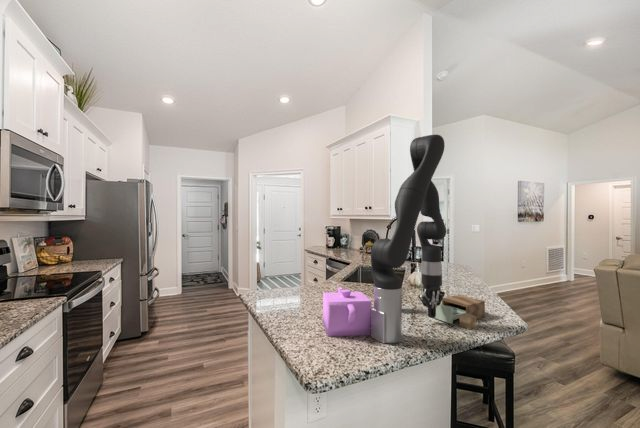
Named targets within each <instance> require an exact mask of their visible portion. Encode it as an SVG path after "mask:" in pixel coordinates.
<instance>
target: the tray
mask: <svg viewBox="0 0 640 428" xmlns="http://www.w3.org/2000/svg"><path fill="white" fill-rule="evenodd" d="M448 306H449V305H448ZM448 306H445V305H442V303H440V305H439V306H437V308H436V317H435V318H434V319H436V320H440V321H442V322H445V323H447V324H452V325H453V323H454V321H455V320H457V319H458V320H460V315H462V314H466V310H462V309H459V308H456V307H454V308H456V309H457V314H456V315H453V308H451V307H452V306H449V307H448Z"/></svg>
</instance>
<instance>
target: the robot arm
mask: <svg viewBox="0 0 640 428" xmlns="http://www.w3.org/2000/svg"><path fill="white" fill-rule="evenodd" d="M444 151H445V140H444V138H443V136H442V135H439V134H430V135H429V134H428V135H424V136H418V137H415V138H413V139H412V140H411V142H410V146H409V154H410V159H411V163H412V168H413V172H412V173H411V174H410V175H409V176H408V177H407V178H406V179H405V180H404V182H403V183H402V184H401V185H400V187H399V190H398V193H397V195H396V197H395V201H394V212H395V217H396V226H395V230H394V232H393V235H392V237H391V238H379V239H376V241H374V243H373V244H372V247H371V250H370V265H371V267H370V269H371V270H370V271H371V277H372V280H373V308H371V336H370V338H373V339H375V340H377V341H378V342H380V343H382V344H394V343H395V344H396V343H400V342H401V341H402V338H403V337H402V336H403V335H402V331H403V328H402V327H403V325H402V323H403V321H402V318H403V316H402V314H403V311H402V310H403V309H402V306H403V303H402V301H403V295H402V294H403V282H402V281H403V280H402V279H401V277H400V276H398V274H397V273H395V271H394V269H399V268H401V267H402V266H403V265H404V264H405V263H406V261H407V258H408V255H409V251H410V247H411V244H412V239H413V235H414V231H415V228H416V232H417V233H416V234H417V237H418V240H419V243H420V248H421V267H420V268H421V273H420V274H421V284H422V286H423V288H422V292H421V294H418V299H419V300H420V302H421V304H422V305H423V307H426V308H427V316H428V317H429V318H431V319H436V318H435V317H436V308H437V306H439V305H440V304H442V299H443V298H445V297H444V296H445V295H446V293H445V292H444V291H442V290H441V289H442V288H441V286H443V265H442V264H443V263H442V249H441V247H440V246H438V245H434V244H431V243H430V241H429V240H435V241H436V240H437V241H440V240H443V239H445V238H446V235H447V228H446V225H445V222H444V219H443V216H442V214H441V209H440V208H441V207H440V195H439V190H438V189H437V186H436V185H435V183H434V182H433V181H432V180H433V177H434V174H435V172H436V170H437V168H438V166H439V164H440V162H441V159H442V157H443V155H444ZM420 214H421V216H424V217H428V218H430V219H432V221H427V220H426V221H421V222H419V223H418V224H417V221H418V218H419V215H420ZM416 225H417V227H416Z"/></svg>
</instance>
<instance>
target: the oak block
mask: <svg viewBox="0 0 640 428" xmlns="http://www.w3.org/2000/svg"><path fill="white" fill-rule="evenodd" d="M459 327H461V328H465V329H468V330H472V329H473V330H474V329H475V328H477V319H476V316H473V315H469V314H462V315H460V318H459Z"/></svg>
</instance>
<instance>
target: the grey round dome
mask: <svg viewBox="0 0 640 428" xmlns="http://www.w3.org/2000/svg"><path fill="white" fill-rule="evenodd" d="M448 307H449V306H448ZM451 308H453V315H456V314H457V309H456V308H454V307H451Z"/></svg>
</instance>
